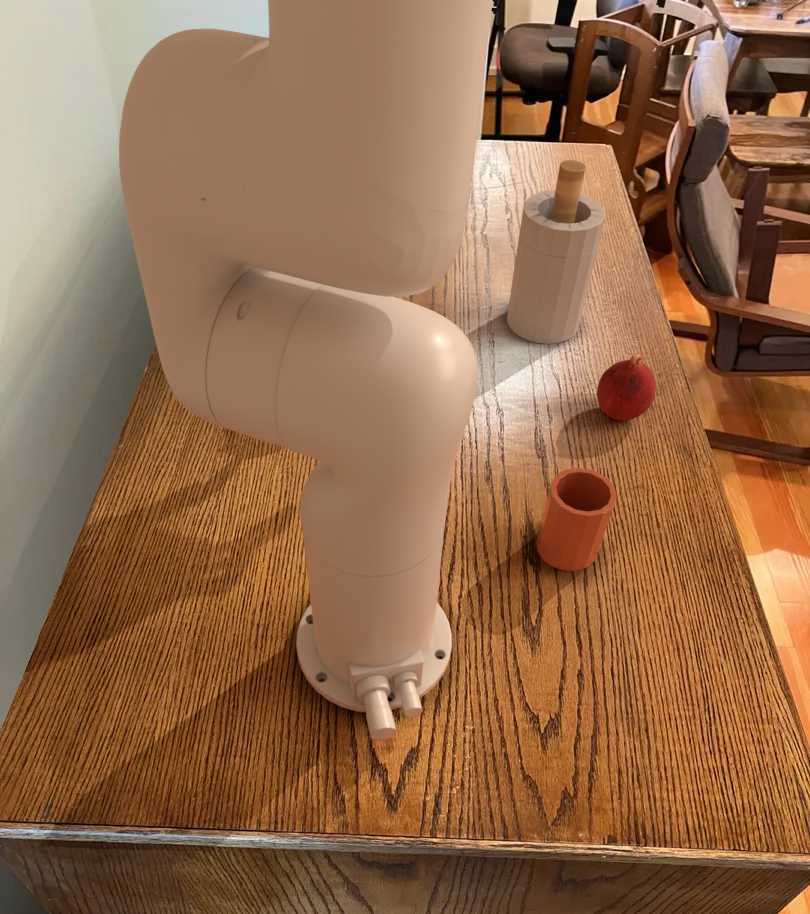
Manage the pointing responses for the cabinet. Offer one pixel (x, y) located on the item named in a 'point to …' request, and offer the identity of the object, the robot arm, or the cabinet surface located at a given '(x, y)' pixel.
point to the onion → (626, 389)
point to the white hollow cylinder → (553, 269)
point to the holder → (575, 518)
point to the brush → (567, 191)
